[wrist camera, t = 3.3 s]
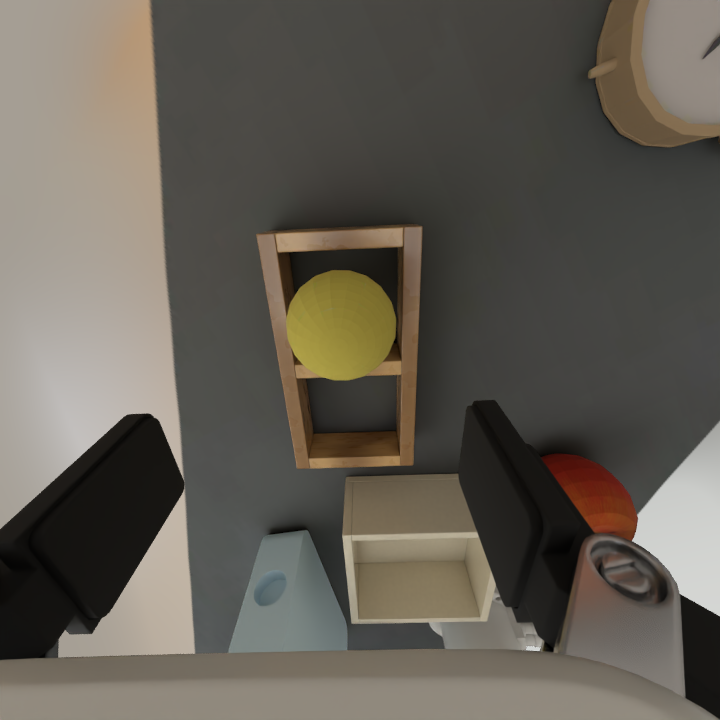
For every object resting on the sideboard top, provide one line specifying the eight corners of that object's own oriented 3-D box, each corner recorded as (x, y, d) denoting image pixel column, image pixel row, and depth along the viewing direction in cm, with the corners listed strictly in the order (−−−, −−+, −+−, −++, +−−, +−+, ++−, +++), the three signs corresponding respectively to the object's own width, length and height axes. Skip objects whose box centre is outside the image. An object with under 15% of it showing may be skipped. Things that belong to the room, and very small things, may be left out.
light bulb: (345, 235, 23) (335, 251, 14) (405, 298, 25) (429, 348, 16) (287, 298, 25) (246, 347, 16) (347, 351, 27) (340, 422, 18)
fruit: (505, 439, 31) (563, 532, 22) (602, 434, 31) (701, 525, 22) (495, 506, 36) (540, 606, 27) (581, 501, 35) (656, 602, 26)
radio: (258, 530, 37) (210, 680, 26) (305, 523, 37) (278, 674, 25) (310, 630, 47) (293, 772, 35) (347, 626, 47) (343, 769, 35)
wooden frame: (414, 223, 23) (422, 225, 20) (408, 439, 31) (413, 465, 28) (270, 230, 23) (255, 233, 20) (303, 443, 32) (297, 469, 29)
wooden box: (482, 472, 33) (509, 531, 27) (467, 557, 40) (487, 621, 34) (345, 476, 34) (342, 535, 28) (352, 560, 40) (351, 624, 34)
